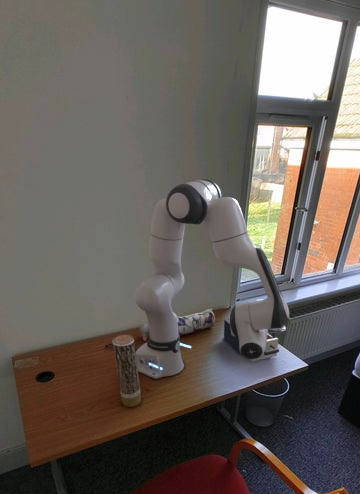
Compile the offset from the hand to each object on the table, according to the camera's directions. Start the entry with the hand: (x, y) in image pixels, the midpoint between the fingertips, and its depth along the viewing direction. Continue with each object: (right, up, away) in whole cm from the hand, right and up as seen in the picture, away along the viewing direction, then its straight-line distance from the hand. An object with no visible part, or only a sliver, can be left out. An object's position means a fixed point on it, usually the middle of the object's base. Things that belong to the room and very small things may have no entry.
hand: (258, 313), depth 138 cm
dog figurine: (-43, -8, +30) cm, 53 cm away
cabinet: (-2, -11, +21) cm, 24 cm away
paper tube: (-47, -33, -12) cm, 59 cm away
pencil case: (-24, -5, +34) cm, 42 cm away
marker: (0, -7, +3) cm, 7 cm away
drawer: (+3, -16, +11) cm, 19 cm away
